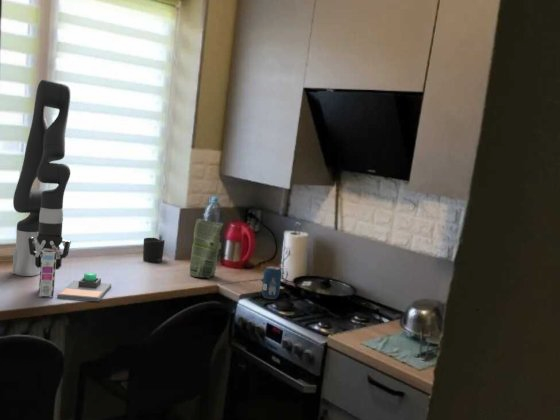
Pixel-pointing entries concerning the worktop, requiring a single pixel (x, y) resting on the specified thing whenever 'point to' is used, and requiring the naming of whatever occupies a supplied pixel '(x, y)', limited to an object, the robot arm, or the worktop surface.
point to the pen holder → (153, 250)
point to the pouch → (205, 248)
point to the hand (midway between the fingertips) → (48, 267)
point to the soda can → (271, 282)
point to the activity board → (85, 290)
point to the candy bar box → (47, 272)
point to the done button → (90, 277)
